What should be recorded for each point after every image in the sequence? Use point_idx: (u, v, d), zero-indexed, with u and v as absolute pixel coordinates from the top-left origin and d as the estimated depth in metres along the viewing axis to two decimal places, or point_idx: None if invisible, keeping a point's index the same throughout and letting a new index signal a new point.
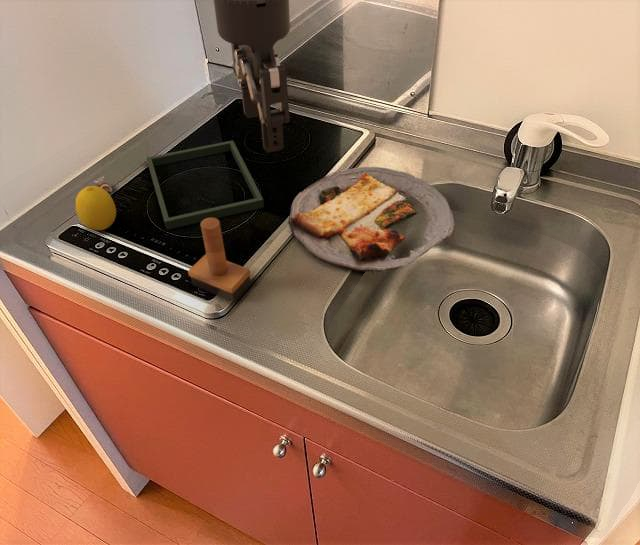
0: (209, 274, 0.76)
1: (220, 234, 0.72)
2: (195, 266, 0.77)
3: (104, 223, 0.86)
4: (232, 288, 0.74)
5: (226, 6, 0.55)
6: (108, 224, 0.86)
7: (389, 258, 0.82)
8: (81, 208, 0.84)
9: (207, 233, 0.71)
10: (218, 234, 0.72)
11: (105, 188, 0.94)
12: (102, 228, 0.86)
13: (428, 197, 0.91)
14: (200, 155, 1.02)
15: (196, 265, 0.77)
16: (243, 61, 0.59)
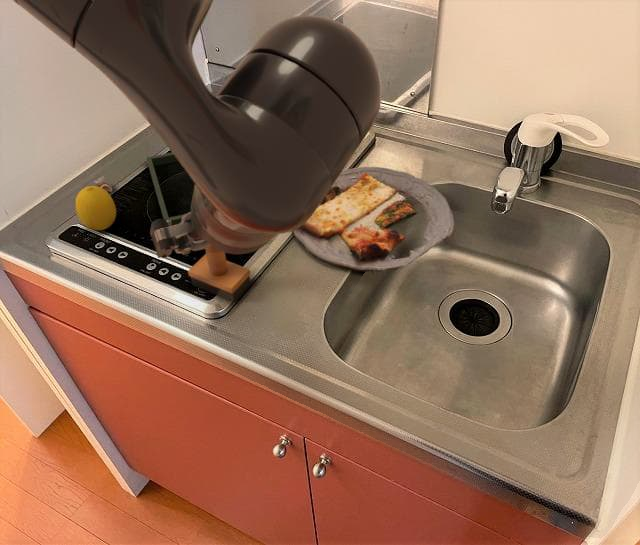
0: (209, 274, 0.76)
1: None
2: (195, 266, 0.77)
3: (104, 223, 0.86)
4: (232, 288, 0.74)
5: None
6: (108, 224, 0.86)
7: (389, 258, 0.82)
8: (81, 208, 0.84)
9: None
10: None
11: (105, 188, 0.94)
12: (102, 228, 0.86)
13: (428, 197, 0.91)
14: None
15: (196, 265, 0.77)
16: None
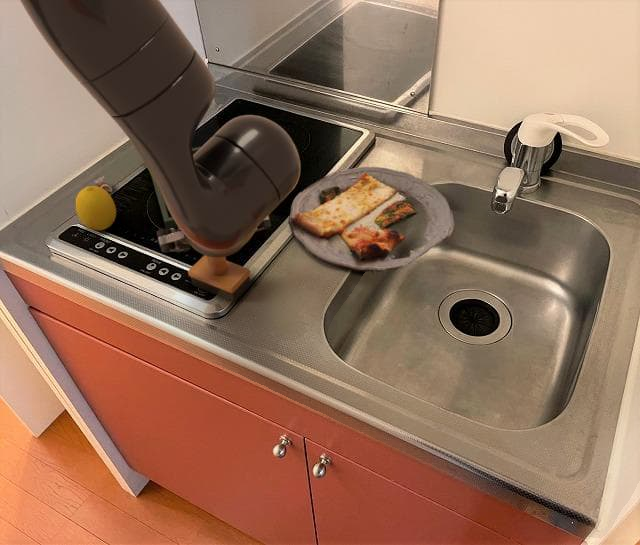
0: (209, 274, 0.76)
1: None
2: (195, 266, 0.77)
3: (104, 223, 0.86)
4: (232, 288, 0.74)
5: None
6: (108, 224, 0.86)
7: (389, 258, 0.82)
8: (81, 208, 0.84)
9: None
10: None
11: (105, 188, 0.94)
12: (102, 228, 0.86)
13: (428, 197, 0.91)
14: None
15: (196, 265, 0.77)
16: None
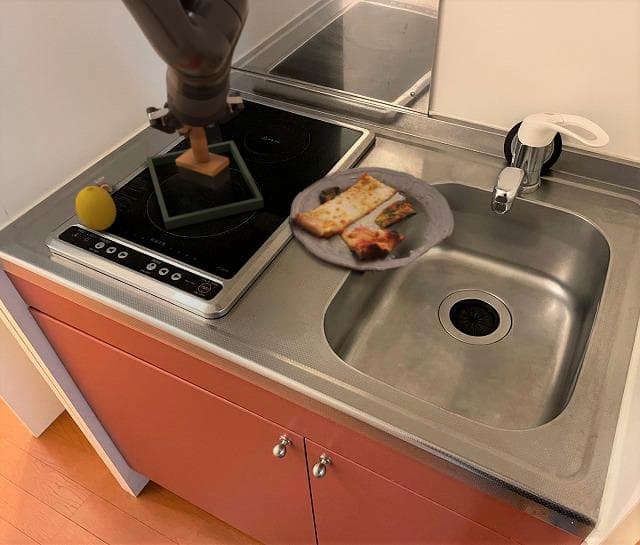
0: (193, 162, 0.88)
1: None
2: (181, 156, 0.89)
3: (104, 223, 0.86)
4: (213, 171, 0.86)
5: None
6: (108, 224, 0.86)
7: (389, 258, 0.82)
8: (81, 208, 0.84)
9: None
10: None
11: (105, 188, 0.94)
12: (102, 228, 0.86)
13: (428, 197, 0.91)
14: None
15: (182, 155, 0.89)
16: None
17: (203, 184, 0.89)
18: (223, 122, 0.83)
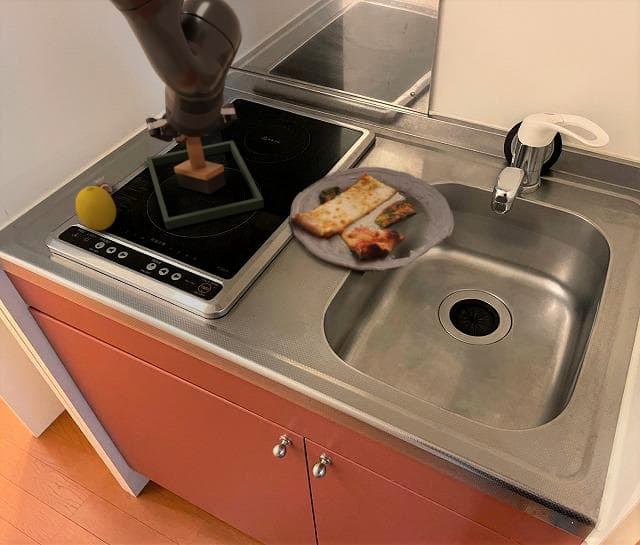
0: (190, 168, 0.93)
1: None
2: (180, 164, 0.94)
3: (104, 223, 0.86)
4: (206, 175, 0.90)
5: None
6: (108, 224, 0.86)
7: (389, 258, 0.82)
8: (81, 208, 0.84)
9: None
10: None
11: (105, 188, 0.94)
12: (102, 228, 0.86)
13: (428, 197, 0.91)
14: None
15: (181, 164, 0.94)
16: None
17: (198, 189, 0.93)
18: (217, 131, 0.89)
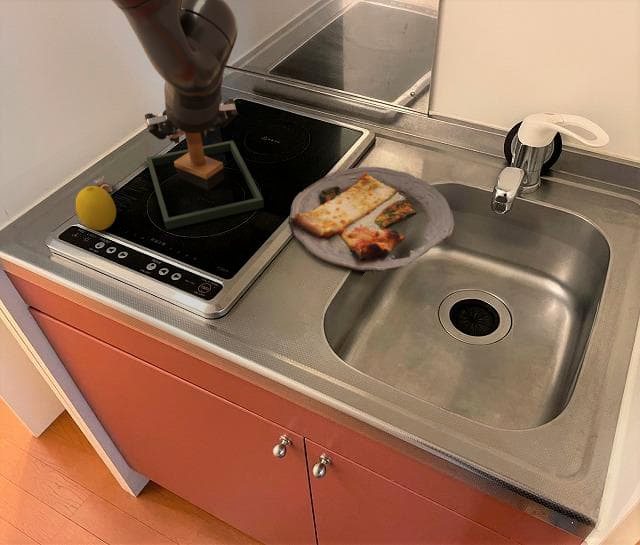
0: (190, 164, 0.95)
1: None
2: (180, 159, 0.96)
3: (104, 223, 0.86)
4: (206, 174, 0.93)
5: None
6: (108, 224, 0.86)
7: (389, 258, 0.82)
8: (81, 208, 0.84)
9: None
10: None
11: (105, 188, 0.94)
12: (102, 228, 0.86)
13: (428, 197, 0.91)
14: None
15: (181, 158, 0.96)
16: None
17: (198, 185, 0.96)
18: (223, 126, 0.91)
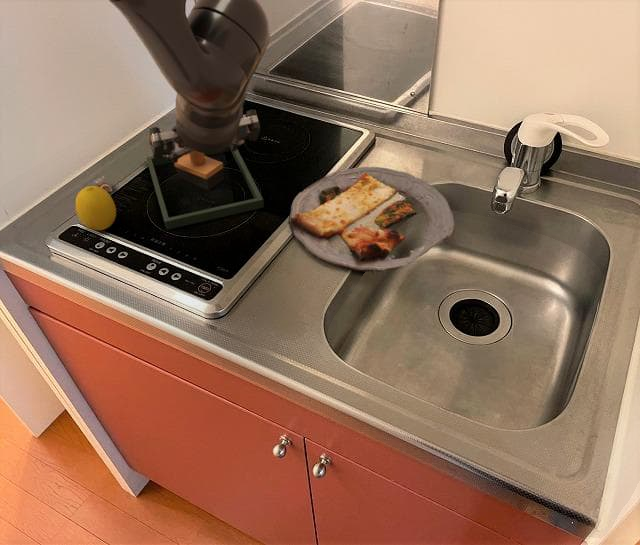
0: (190, 164, 0.95)
1: None
2: (180, 159, 0.96)
3: (104, 223, 0.86)
4: (206, 174, 0.93)
5: None
6: (108, 224, 0.86)
7: (389, 258, 0.82)
8: (81, 208, 0.84)
9: None
10: None
11: (105, 188, 0.94)
12: (102, 228, 0.86)
13: (428, 197, 0.91)
14: None
15: (181, 158, 0.96)
16: None
17: (198, 185, 0.96)
18: (252, 140, 0.79)
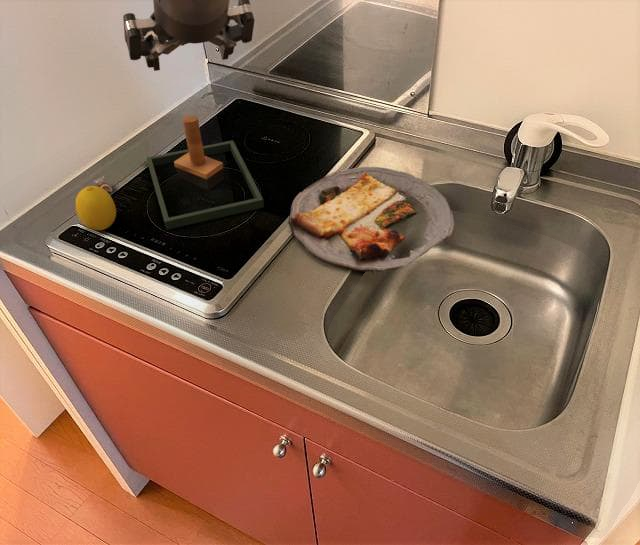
0: (190, 164, 0.95)
1: (198, 128, 0.91)
2: (180, 159, 0.96)
3: (104, 223, 0.86)
4: (206, 174, 0.93)
5: None
6: (108, 224, 0.86)
7: (389, 258, 0.82)
8: (81, 208, 0.84)
9: (187, 126, 0.90)
10: (196, 128, 0.90)
11: (105, 188, 0.94)
12: (102, 228, 0.86)
13: (428, 197, 0.91)
14: None
15: (181, 158, 0.96)
16: None
17: (198, 185, 0.96)
18: (246, 40, 0.68)
